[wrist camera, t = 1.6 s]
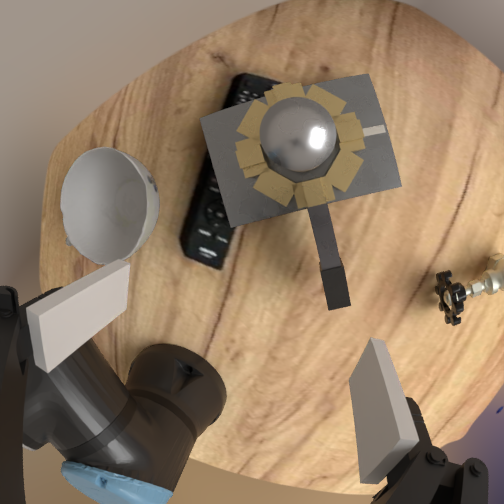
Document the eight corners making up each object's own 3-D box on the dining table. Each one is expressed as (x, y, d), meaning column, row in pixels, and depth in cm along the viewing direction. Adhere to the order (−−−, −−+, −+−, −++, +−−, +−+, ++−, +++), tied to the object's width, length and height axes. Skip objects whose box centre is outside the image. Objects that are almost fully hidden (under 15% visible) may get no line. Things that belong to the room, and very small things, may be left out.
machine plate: (237, 223, 34) (196, 252, 22) (208, 122, 32) (153, 97, 19) (393, 185, 30) (443, 193, 17) (363, 81, 27) (392, 33, 15)
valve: (504, 238, 28) (431, 263, 31) (533, 251, 22) (454, 282, 25) (506, 284, 29) (436, 312, 32) (532, 303, 23) (456, 337, 26)
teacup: (149, 129, 33) (111, 121, 25) (199, 216, 35) (170, 228, 27) (75, 196, 37) (36, 204, 30) (116, 272, 39) (80, 292, 31)
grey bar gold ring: (286, 305, 32) (283, 323, 28) (231, 111, 28) (220, 102, 24) (386, 283, 29) (396, 298, 26) (338, 83, 25) (342, 70, 21)
